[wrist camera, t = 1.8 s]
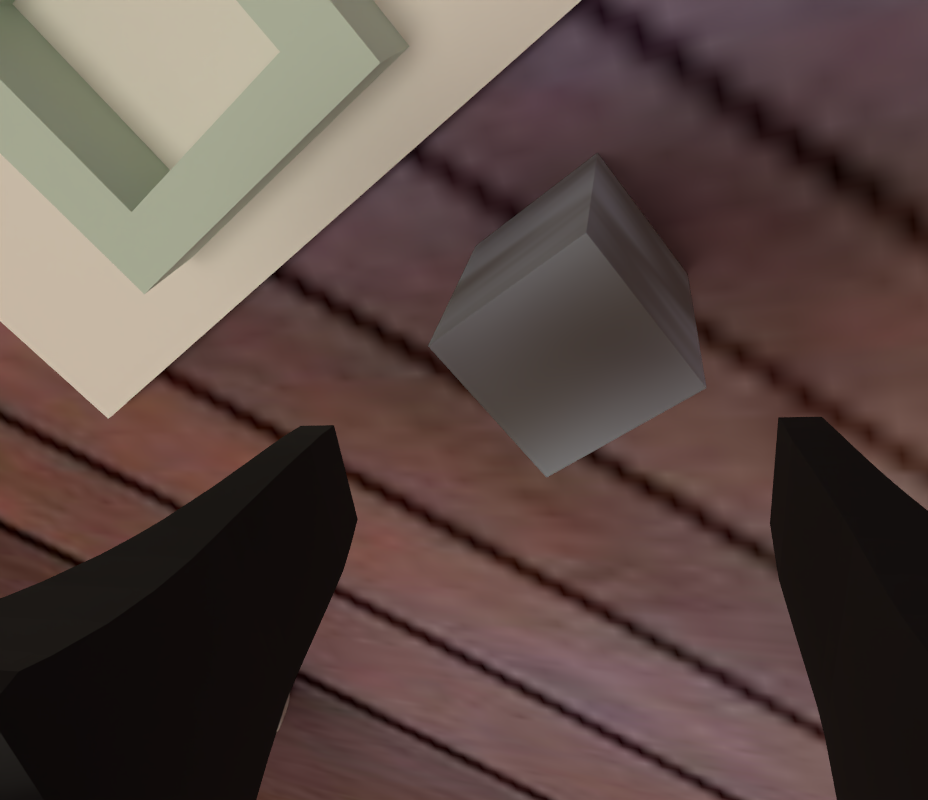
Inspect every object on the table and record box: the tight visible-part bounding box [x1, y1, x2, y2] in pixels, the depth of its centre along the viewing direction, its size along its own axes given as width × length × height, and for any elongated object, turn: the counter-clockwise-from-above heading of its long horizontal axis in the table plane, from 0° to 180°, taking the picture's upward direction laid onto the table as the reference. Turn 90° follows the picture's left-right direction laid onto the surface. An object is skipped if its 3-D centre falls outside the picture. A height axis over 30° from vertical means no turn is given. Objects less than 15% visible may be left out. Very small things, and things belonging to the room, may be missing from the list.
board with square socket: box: [0, 0, 581, 419], centre depth 18 cm, size 12×22×4 cm, turn 131°
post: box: [428, 153, 706, 477], centre depth 18 cm, size 4×4×6 cm
